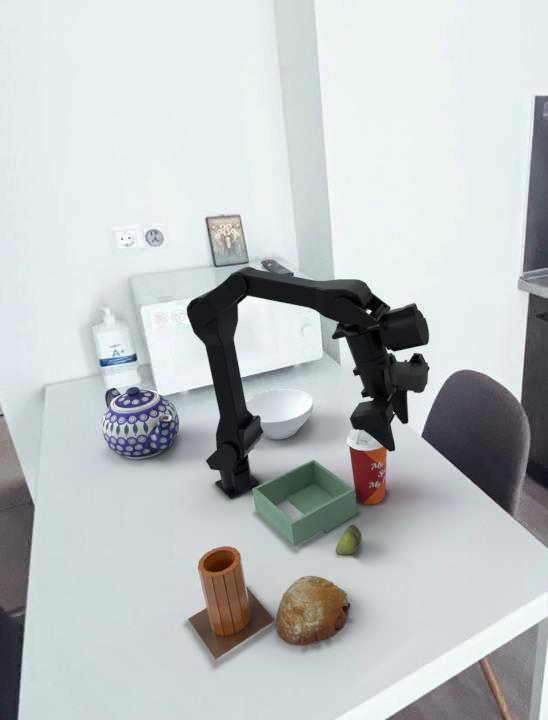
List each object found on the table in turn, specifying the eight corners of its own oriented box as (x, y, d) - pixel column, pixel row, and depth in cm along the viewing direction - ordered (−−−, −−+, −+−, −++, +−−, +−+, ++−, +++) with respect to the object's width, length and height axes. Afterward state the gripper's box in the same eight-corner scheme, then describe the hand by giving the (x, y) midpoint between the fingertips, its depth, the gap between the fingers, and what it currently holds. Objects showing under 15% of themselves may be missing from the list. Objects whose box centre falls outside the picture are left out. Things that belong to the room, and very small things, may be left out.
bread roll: (297, 610, 85) (269, 577, 81) (356, 585, 83) (330, 550, 80) (289, 669, 76) (257, 634, 72) (355, 641, 74) (325, 605, 71)
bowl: (329, 425, 129) (327, 399, 126) (280, 457, 117) (277, 429, 114) (281, 408, 137) (278, 383, 134) (230, 437, 125) (226, 410, 122)
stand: (188, 623, 78) (181, 595, 76) (246, 589, 84) (241, 562, 82) (216, 665, 72) (209, 635, 70) (276, 625, 78) (271, 596, 76)
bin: (256, 513, 100) (252, 488, 98) (316, 483, 109) (313, 459, 106) (294, 550, 92) (291, 524, 89) (356, 514, 100) (355, 489, 98)
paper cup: (384, 510, 101) (382, 446, 95) (345, 505, 102) (340, 441, 96) (394, 485, 108) (393, 423, 102) (357, 480, 109) (353, 419, 103)
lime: (336, 563, 89) (334, 539, 87) (335, 542, 93) (332, 519, 91) (364, 559, 90) (362, 535, 88) (360, 538, 94) (359, 515, 92)
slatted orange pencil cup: (204, 619, 78) (191, 560, 73) (239, 598, 81) (228, 540, 77) (221, 642, 74) (208, 582, 70) (257, 619, 78) (247, 561, 73)
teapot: (86, 443, 123) (68, 384, 117) (150, 416, 134) (136, 361, 128) (143, 484, 109) (126, 419, 103) (209, 450, 120) (197, 390, 114)
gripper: (401, 370, 79) (432, 460, 84) (427, 326, 96) (452, 403, 101) (334, 383, 82) (367, 469, 88) (370, 339, 99) (396, 413, 104)
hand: (399, 436), depth 95 cm, fingers open, 9 cm apart
